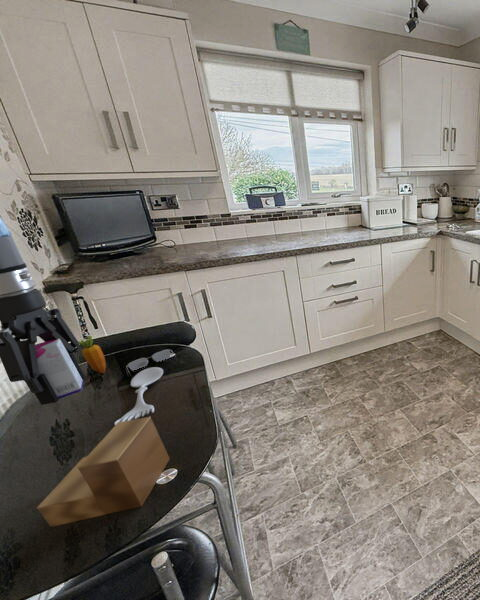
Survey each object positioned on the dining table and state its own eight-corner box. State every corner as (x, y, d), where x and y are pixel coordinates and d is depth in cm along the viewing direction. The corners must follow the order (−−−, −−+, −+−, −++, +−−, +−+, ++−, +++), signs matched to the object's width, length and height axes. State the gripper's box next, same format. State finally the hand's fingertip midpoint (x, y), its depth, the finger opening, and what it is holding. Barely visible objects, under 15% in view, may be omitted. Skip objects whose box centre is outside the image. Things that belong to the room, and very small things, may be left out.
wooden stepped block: (50, 527, 62) (17, 479, 58) (93, 475, 73) (68, 432, 69) (141, 506, 64) (116, 459, 60) (170, 459, 75) (150, 416, 71)
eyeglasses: (173, 356, 125) (170, 347, 124) (179, 364, 120) (176, 355, 118) (129, 373, 116) (124, 363, 115) (133, 382, 111) (128, 372, 109)
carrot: (93, 380, 114) (73, 342, 109) (95, 374, 118) (76, 337, 113) (111, 374, 117) (93, 337, 111) (112, 369, 121) (95, 332, 115)
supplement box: (83, 380, 75) (60, 336, 71) (82, 391, 71) (57, 344, 67) (49, 392, 72) (22, 346, 68) (45, 404, 68) (17, 356, 64)
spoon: (117, 434, 86) (111, 423, 84) (135, 379, 112) (131, 370, 111) (157, 419, 90) (153, 409, 89) (165, 369, 116) (162, 361, 115)
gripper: (-18, 308, 55) (47, 417, 63) (70, 276, 74) (112, 363, 82) (-72, 316, 53) (2, 426, 61) (32, 281, 72) (78, 369, 80)
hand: (65, 390), depth 72 cm, fingers closed on supplement box, 8 cm apart
